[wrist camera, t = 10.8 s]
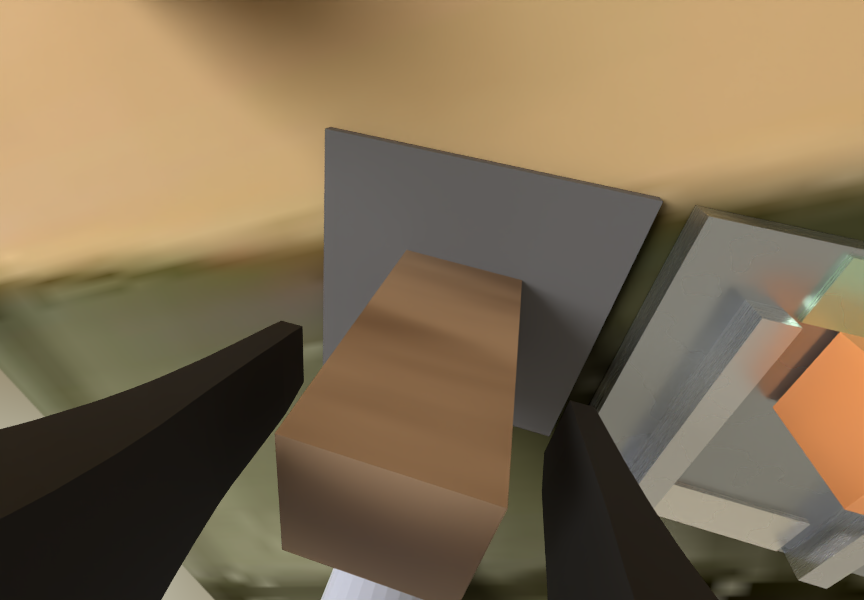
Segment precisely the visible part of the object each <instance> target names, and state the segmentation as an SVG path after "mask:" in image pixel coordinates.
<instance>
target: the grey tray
mask: <svg viewBox="0 0 864 600" xmlns="http://www.w3.org/2000/svg"><path fill="white" fill-rule="evenodd" d="M840 332H843V333H848V334H852V335H856V336H860V337H864V241H861V240H856V239H851V238H847V237H842V236H837V235H833V234H828V233H823V232H819V231H814V230H809V229H805V228H800V227H795V226H791V225H786V224H781V223H777V222H772V221H767V220H763V219H758V218H753V217H748V216H744V215H739V214H734V213H730V212H725V211H720V210H716V209H711V208H706V207H702V206H697V205H695V207H694V209H693V211H692V213H691V215H690V217H689V219H688V220H687V222H686V224H685V226H684V228H683V230H682V232H681V234H680V235H679V237H678V239H677V241H676V243H675V245H674V247H673V249H672V250H671V252H670V254H669V256H668V258H667V260H666V262H665V264H664V265H663V267H662V269H661V271H660V273H659V275H658V277H657V279H656V280H655V282H654V284H653V286H652V288H651V290H650V292H649V294H648V296H647V297H646V299H645V301H644V303H643V305H642V307H641V309H640V311H639V312H638V314H637V316H636V318H635V320H634V322H633V324H632V326H631V327H630V329H629V331H628V333H627V335H626V337H625V339H624V341H623V342H622V344H621V346H620V348H619V350H618V352H617V354H616V356H615V357H614V359H613V361H612V363H611V365H610V367H609V369H608V371H607V372H606V374H605V376H604V378H603V380H602V382H601V384H600V386H599V387H598V389H597V391H596V393H595V395H594V397H593V399H592V401H591V402H590V404H589V406H593V407H595V409H596V411H597V412H598V414H599V416H600V418H601V419H602V421H603V423H604V425H605V427H606V428H607V430H608V432H609V434H610V436H611V437H612V439H613V441H614V443H615V444H616V446H617V448H618V450H619V452H620V453H621V455H622V457H623V459H624V460H625V462H626V464H627V466H628V467H629V469H630V471H631V472H632V474H633V476H634V477H635V479H636V481H637V482H638V484H639V486H640V487H641V489H642V491H643V492H644V494H645V496H646V497H647V499H648V500H649V502H650V504H651V505H652V507H653V508H654V510H655V512H656V513H657V515H658V516H661V517H664V518H667V519H671V520H674V521H677V522H681V523H684V524H687V525H691V526H694V527H697V528H700V529H704V530H707V531H710V532H714V533H717V534H720V535H724V536H727V537H730V538H734V539H737V540H740V541H744V542H747V543H750V544H754V545H757V546H760V547H764V548H767V549H770V550H774V551H780V552H784V554H785V556H786V558H787V560H788V561H789V563H790V565H791V567H792V569H793V571H794V573H795V575H796V577H797V579H798V580H799V581H803V582H806V583H809V584H812V585H816V586H819V587H822V588H825V589H827V588H829V587H830V586H832V585H833V584H835V583H837V582H838V581H840V580H841V579H843V578H844V577H846V576H847V575H849V574H851V573H854V574H857V575H860V576H864V515H862V514H858V513H855V512H851V511H848V510H844V508H843V507H842V505H841V504H840V502H839V501H838V500H837V498H836V497H835V495H834V494H833V493H832V491H831V490H830V488H829V487H828V485H827V484H826V483H825V481H824V480H823V478H822V477H821V476H820V474H819V473H818V471H817V470H816V468H815V467H814V466H813V464H812V463H811V461H810V460H809V458H808V457H807V456H806V454H805V453H804V451H803V450H802V449H801V447H800V446H799V444H798V443H797V441H796V440H795V439H794V437H793V436H792V434H791V433H790V431H789V430H788V429H787V427H786V426H785V424H784V423H783V422H782V420H781V419H780V417H779V416H778V414H777V413H776V412H775V410H774V409H773V406H774V405H775V404H776V403H777V402H778V400H779V399H780V398H781V397H782V396H783V395H784V394H785V393H786V392H787V390H788V389H789V388H790V387H791V386H792V385H793V384H794V383H795V382H796V380H797V379H798V378H799V377H800V376H801V375H802V374H803V373H804V372H805V370H806V369H807V368H808V367H809V366H810V365H811V364H812V363H813V361H814V360H815V359H816V358H817V357H818V356H819V355H820V354H821V353H822V351H823V350H824V349H825V348H826V347H827V346H828V345H829V344H830V343H831V341H832V340H833V339H834V338H835V337H836V336H837V335H838V334H839V333H840Z"/></svg>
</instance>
